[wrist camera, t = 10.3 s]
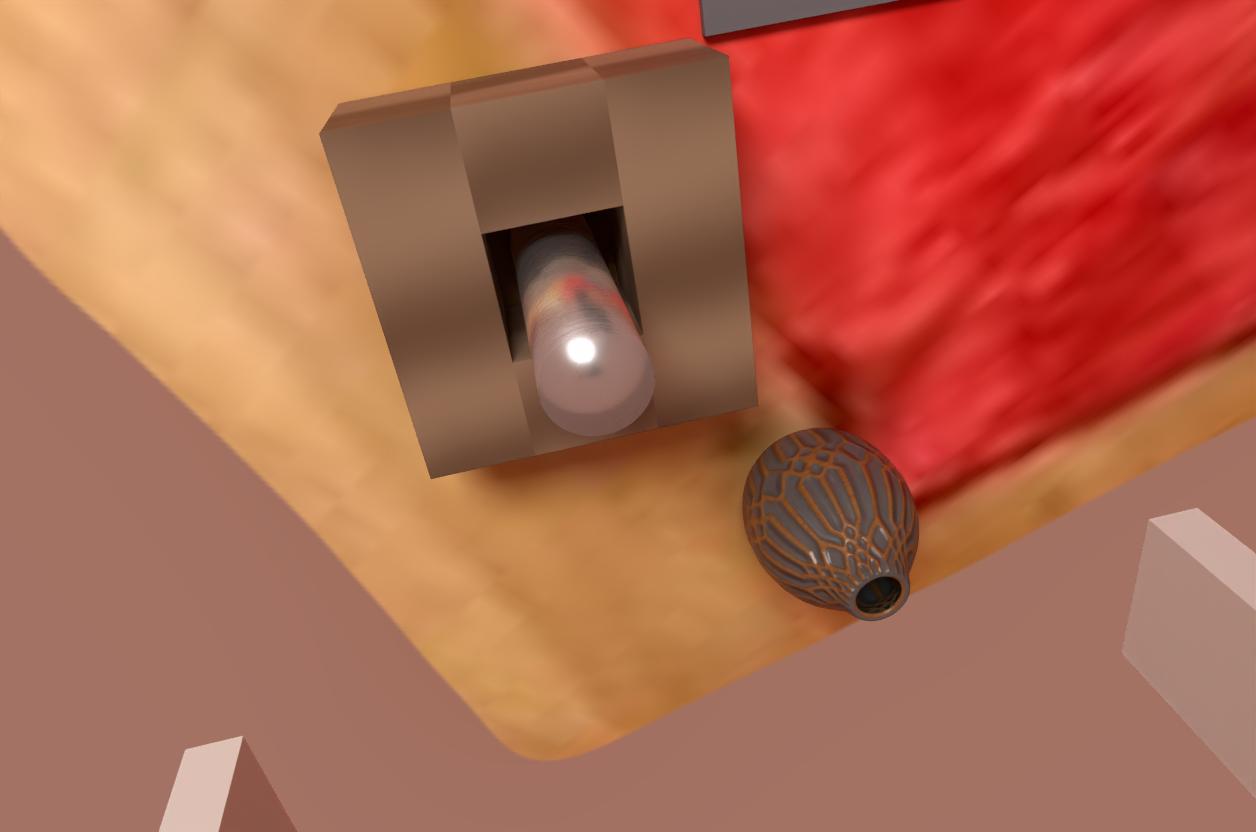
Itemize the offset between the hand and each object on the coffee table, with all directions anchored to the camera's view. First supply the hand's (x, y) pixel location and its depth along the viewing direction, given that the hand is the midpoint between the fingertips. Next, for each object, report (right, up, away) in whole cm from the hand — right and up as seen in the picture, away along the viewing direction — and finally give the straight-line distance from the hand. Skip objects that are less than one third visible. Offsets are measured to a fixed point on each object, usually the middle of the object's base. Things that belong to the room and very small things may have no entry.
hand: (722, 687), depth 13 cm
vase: (+6, +2, +27) cm, 28 cm away
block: (-4, +11, +20) cm, 23 cm away
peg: (-4, +11, +20) cm, 23 cm away
